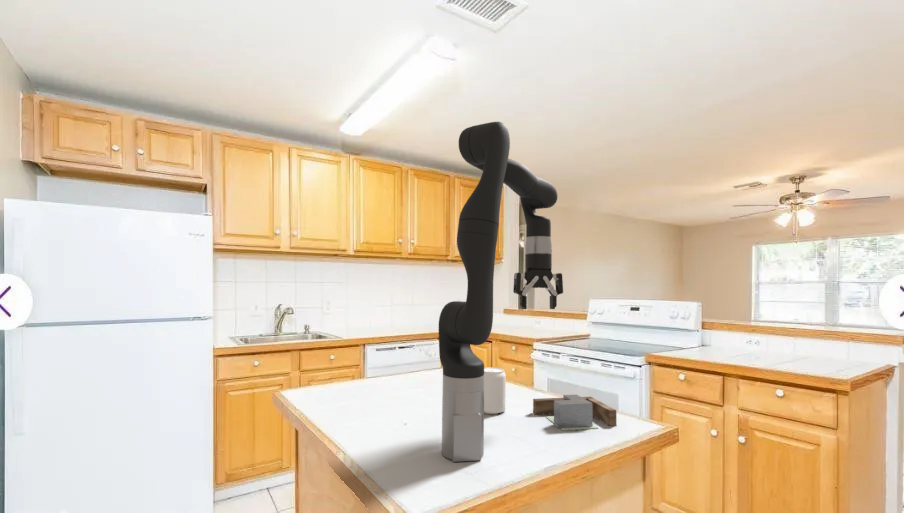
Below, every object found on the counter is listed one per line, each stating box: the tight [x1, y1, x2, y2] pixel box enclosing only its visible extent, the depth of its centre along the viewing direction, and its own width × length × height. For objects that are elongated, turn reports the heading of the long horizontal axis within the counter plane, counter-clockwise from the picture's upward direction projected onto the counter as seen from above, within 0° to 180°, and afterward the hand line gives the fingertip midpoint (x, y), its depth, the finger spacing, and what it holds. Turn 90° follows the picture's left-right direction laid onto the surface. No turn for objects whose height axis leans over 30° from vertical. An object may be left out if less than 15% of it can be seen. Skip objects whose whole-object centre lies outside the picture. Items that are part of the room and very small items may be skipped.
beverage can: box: [484, 366, 507, 415], centre depth 130 cm, size 8×8×12 cm
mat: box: [545, 415, 599, 431], centre depth 120 cm, size 11×10×1 cm
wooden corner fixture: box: [532, 396, 617, 427], centre depth 123 cm, size 14×18×4 cm
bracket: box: [553, 394, 594, 429], centre depth 120 cm, size 9×9×6 cm
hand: (538, 309), depth 128 cm, fingers open, 8 cm apart
